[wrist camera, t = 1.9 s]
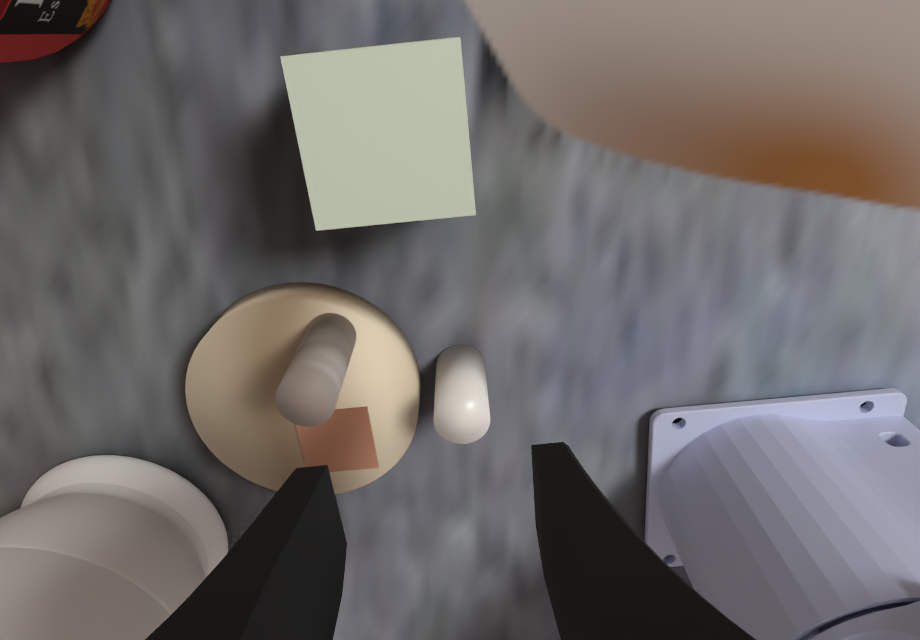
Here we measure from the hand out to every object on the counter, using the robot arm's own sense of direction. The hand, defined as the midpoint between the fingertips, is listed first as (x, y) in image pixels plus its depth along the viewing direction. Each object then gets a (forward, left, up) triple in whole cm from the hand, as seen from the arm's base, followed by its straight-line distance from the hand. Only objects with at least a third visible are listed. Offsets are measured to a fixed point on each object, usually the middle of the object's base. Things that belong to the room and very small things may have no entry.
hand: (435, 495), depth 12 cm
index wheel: (+5, +3, -10) cm, 12 cm away
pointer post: (0, +3, -10) cm, 11 cm away
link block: (+1, -6, -11) cm, 12 cm away
